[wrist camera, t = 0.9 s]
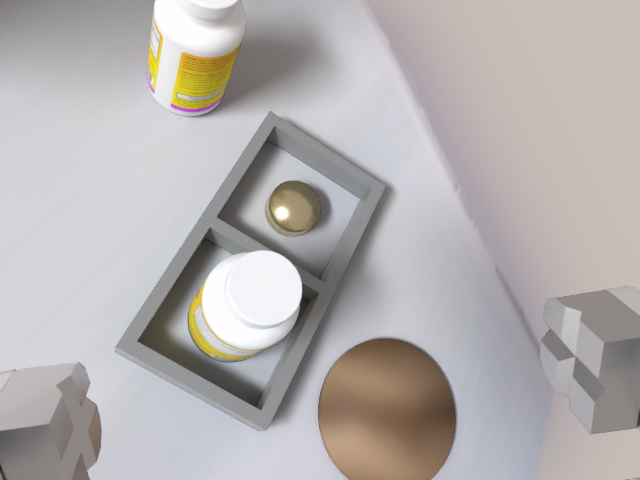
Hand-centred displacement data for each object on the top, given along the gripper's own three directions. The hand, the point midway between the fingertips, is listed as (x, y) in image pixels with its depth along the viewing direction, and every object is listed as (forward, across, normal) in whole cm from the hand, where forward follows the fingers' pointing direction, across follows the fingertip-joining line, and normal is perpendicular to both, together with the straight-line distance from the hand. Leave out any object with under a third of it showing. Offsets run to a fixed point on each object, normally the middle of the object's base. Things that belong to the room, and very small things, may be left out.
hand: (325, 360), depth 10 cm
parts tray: (+34, +1, +14) cm, 37 cm away
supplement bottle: (+44, +6, +1) cm, 44 cm away
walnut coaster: (+28, -7, +26) cm, 39 cm away
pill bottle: (+31, +4, +17) cm, 36 cm away
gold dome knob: (+38, -2, +12) cm, 40 cm away
